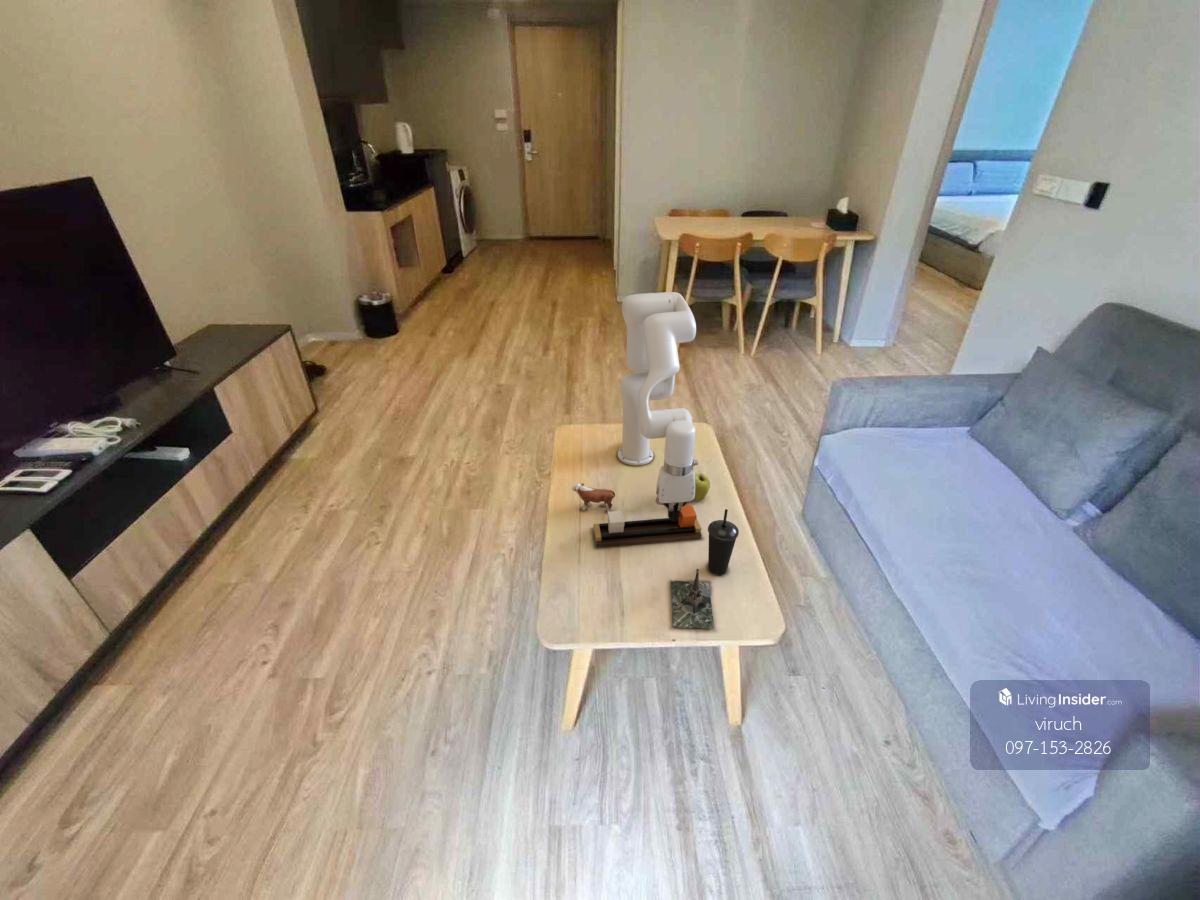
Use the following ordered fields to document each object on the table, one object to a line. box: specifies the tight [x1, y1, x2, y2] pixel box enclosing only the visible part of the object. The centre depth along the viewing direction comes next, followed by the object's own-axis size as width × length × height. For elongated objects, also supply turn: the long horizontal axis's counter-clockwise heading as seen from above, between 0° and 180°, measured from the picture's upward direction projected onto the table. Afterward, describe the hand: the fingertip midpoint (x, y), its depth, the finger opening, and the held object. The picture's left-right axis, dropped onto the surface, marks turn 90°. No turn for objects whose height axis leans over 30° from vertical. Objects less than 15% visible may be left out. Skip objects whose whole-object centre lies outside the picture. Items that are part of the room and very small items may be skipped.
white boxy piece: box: [607, 510, 625, 534], centre depth 151 cm, size 5×4×6 cm
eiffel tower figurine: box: [670, 568, 715, 629], centre depth 129 cm, size 15×10×13 cm
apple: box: [694, 472, 711, 502], centre depth 166 cm, size 8×8×10 cm
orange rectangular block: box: [678, 504, 698, 528], centre depth 153 cm, size 5×4×6 cm
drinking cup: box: [707, 508, 740, 576], centre depth 137 cm, size 8×8×20 cm
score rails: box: [593, 517, 702, 541], centre depth 153 cm, size 6×30×2 cm, turn 97°
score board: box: [592, 523, 702, 549], centre depth 154 cm, size 8×30×2 cm, turn 97°
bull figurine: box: [571, 482, 616, 513], centre depth 162 cm, size 4×13×8 cm, turn 78°
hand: (673, 518), depth 152 cm, fingers closed
